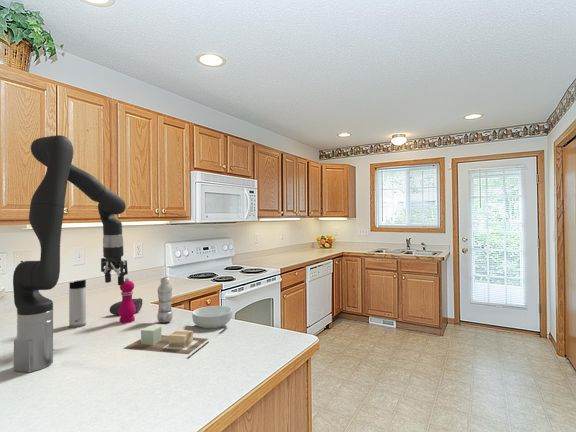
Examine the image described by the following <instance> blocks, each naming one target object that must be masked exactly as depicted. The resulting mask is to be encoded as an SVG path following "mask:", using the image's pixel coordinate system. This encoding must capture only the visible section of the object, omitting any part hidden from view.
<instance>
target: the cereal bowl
mask: <svg viewBox="0 0 576 432" xmlns="http://www.w3.org/2000/svg"><path fill="white" fill-rule="evenodd" d="M191 315H192V321H193V323H194V325H196V326H197V327H199V328H203V329H220V328H222V327H224V326H225V325H227V324H228V323H230V321H231V319H232V316H233V309H232V308H231V307H229V306H226V305H212V306H203V307H199V308H196V309H193V311H192V313H191Z"/></svg>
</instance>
